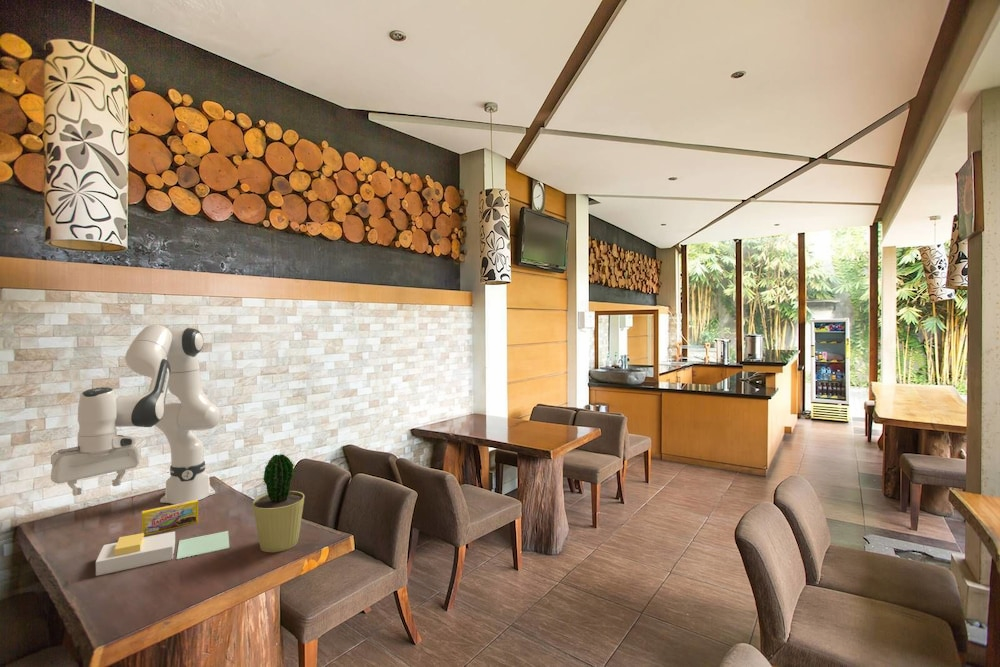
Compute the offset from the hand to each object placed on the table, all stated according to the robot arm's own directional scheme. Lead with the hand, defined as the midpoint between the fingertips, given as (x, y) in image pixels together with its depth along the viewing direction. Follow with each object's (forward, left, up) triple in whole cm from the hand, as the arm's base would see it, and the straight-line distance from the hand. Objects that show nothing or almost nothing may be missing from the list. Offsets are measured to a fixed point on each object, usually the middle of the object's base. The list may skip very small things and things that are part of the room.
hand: (97, 490), depth 139 cm
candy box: (-19, +17, -23) cm, 34 cm away
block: (+1, +8, -19) cm, 20 cm away
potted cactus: (+13, +48, -23) cm, 54 cm away
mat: (+1, +27, -23) cm, 35 cm away
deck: (+1, +10, -23) cm, 25 cm away
